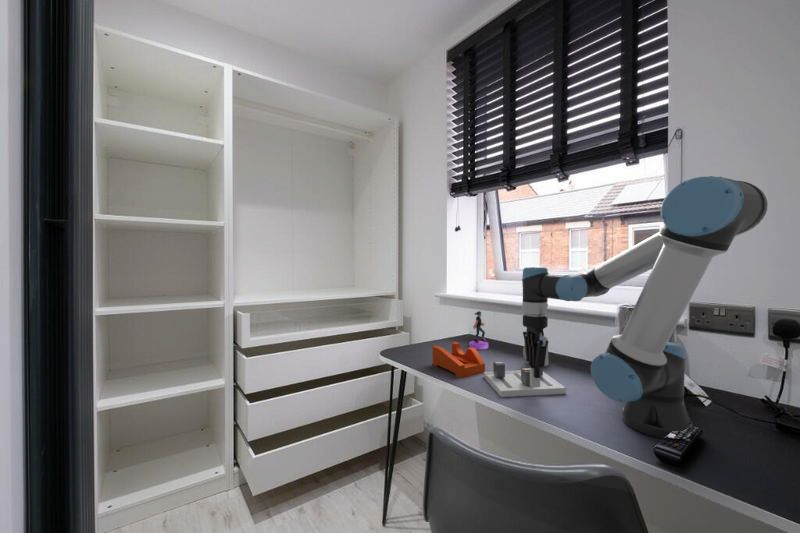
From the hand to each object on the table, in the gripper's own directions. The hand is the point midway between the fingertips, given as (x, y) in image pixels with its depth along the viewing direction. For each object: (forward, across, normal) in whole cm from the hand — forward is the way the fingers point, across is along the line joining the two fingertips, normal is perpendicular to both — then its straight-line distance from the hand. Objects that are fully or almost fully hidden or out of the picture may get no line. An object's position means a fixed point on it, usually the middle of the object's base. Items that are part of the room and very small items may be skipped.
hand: (534, 386), depth 111 cm
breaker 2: (+1, +6, 0) cm, 6 cm away
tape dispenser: (+4, +30, +18) cm, 36 cm away
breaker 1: (+1, +14, +7) cm, 15 cm away
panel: (+4, +10, 0) cm, 11 cm away
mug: (+4, +31, -15) cm, 35 cm away
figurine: (+4, +60, 0) cm, 60 cm away
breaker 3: (+1, +14, -7) cm, 15 cm away
